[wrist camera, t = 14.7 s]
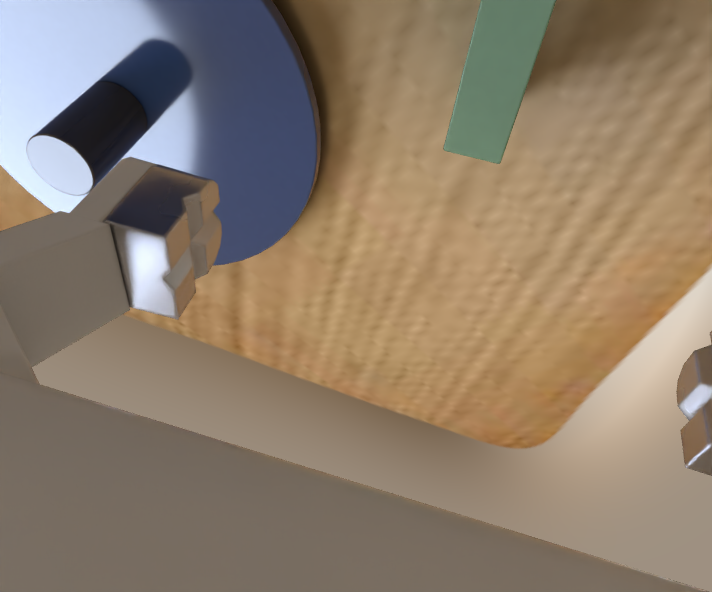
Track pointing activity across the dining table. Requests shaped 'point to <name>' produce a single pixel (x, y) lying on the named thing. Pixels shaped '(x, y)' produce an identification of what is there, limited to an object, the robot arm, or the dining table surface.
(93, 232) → the robot arm
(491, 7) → the scoop
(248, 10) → the lid
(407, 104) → the dining table surface
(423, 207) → the dining table surface
